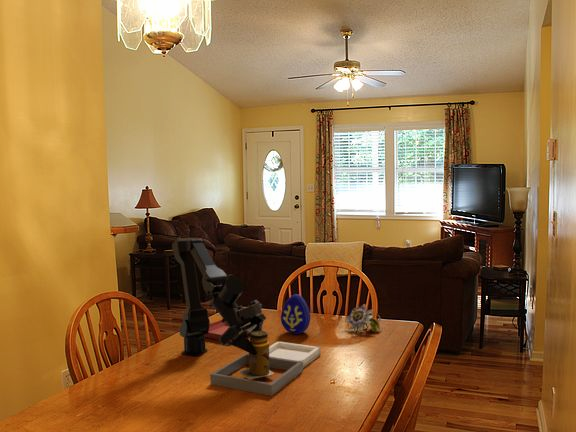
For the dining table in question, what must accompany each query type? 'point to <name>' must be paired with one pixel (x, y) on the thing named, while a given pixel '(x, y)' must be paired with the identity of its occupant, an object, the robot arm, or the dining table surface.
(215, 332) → the plant saucer
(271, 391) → the gray square frame
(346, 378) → the dining table surface
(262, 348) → the condiment
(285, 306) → the ornament
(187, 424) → the dining table surface
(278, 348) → the tray
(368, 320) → the passion flower
